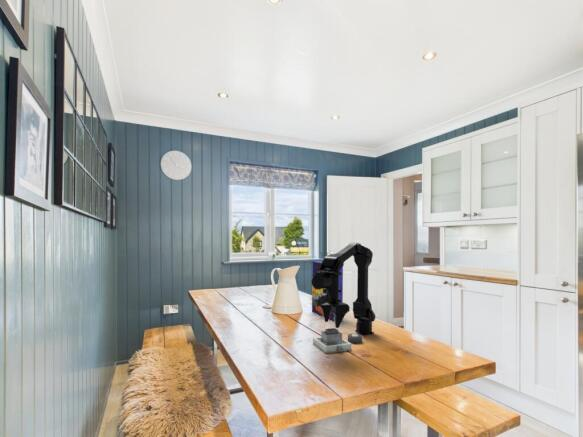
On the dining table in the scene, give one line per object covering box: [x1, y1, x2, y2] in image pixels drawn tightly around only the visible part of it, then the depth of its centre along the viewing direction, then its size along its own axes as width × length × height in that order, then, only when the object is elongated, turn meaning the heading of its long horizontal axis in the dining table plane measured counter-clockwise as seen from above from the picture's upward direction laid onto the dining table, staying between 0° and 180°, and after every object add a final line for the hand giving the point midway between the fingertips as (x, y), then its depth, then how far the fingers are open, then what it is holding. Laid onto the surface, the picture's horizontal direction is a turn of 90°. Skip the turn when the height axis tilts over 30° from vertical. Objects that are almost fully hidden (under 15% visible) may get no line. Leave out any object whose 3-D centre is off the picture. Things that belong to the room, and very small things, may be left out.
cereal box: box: [311, 260, 344, 322], centre depth 184 cm, size 22×6×30 cm, turn 28°
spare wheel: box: [347, 333, 363, 345], centre depth 141 cm, size 6×6×3 cm
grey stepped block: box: [320, 327, 343, 346], centre depth 133 cm, size 7×5×6 cm
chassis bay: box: [312, 336, 352, 354], centre depth 133 cm, size 12×15×2 cm
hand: (331, 324), depth 133 cm, fingers open, 9 cm apart
